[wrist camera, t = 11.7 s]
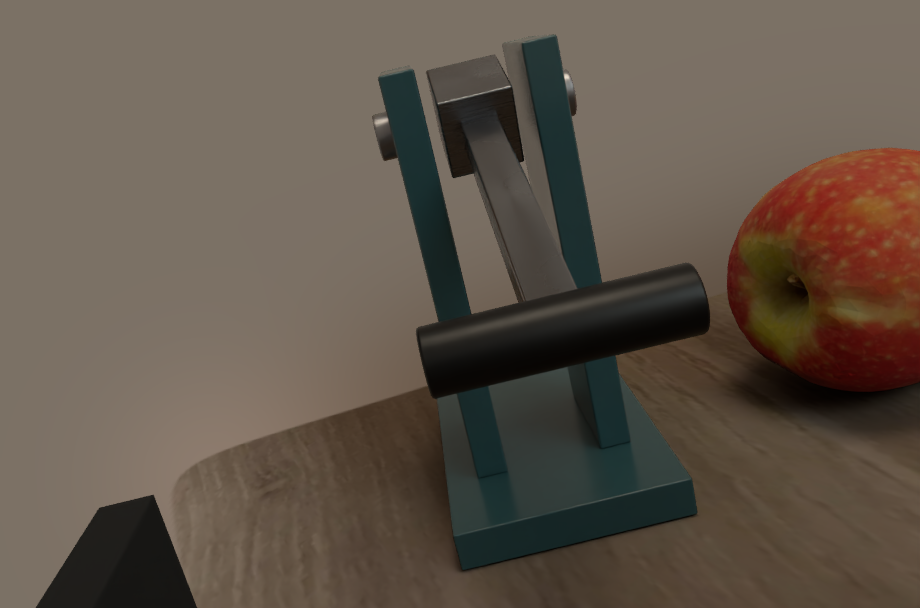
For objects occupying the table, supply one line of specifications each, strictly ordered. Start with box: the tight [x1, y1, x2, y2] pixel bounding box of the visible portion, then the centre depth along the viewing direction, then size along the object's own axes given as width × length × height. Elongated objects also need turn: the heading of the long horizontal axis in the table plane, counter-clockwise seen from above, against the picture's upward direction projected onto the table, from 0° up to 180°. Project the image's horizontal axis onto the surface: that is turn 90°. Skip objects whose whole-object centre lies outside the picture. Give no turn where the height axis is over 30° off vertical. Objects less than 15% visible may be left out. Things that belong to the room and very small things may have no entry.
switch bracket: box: [372, 35, 697, 570], centre depth 27 cm, size 10×7×14 cm
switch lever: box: [416, 55, 710, 399], centre depth 21 cm, size 13×6×2 cm, turn 4°
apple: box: [727, 148, 920, 392], centre depth 28 cm, size 8×8×8 cm
